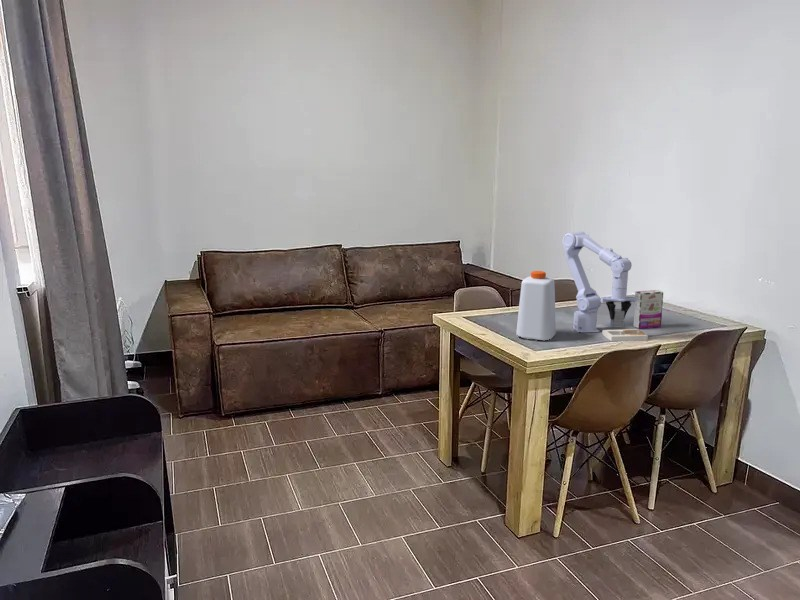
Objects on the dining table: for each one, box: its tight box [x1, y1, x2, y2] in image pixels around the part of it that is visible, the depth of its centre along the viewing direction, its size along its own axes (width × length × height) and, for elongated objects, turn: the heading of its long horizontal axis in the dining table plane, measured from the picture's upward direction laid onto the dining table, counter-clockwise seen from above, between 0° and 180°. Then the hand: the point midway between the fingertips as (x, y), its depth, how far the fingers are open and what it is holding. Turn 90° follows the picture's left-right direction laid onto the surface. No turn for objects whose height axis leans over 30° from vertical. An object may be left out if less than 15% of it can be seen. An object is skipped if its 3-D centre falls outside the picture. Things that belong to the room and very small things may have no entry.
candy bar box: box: [632, 289, 664, 330], centre depth 268 cm, size 11×5×16 cm, turn 101°
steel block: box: [610, 308, 625, 328], centre depth 252 cm, size 4×4×7 cm
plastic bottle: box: [515, 270, 557, 341], centre depth 255 cm, size 15×15×28 cm
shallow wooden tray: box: [601, 328, 649, 342], centre depth 254 cm, size 15×10×2 cm, turn 92°
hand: (617, 318), depth 252 cm, fingers closed on steel block, 4 cm apart
